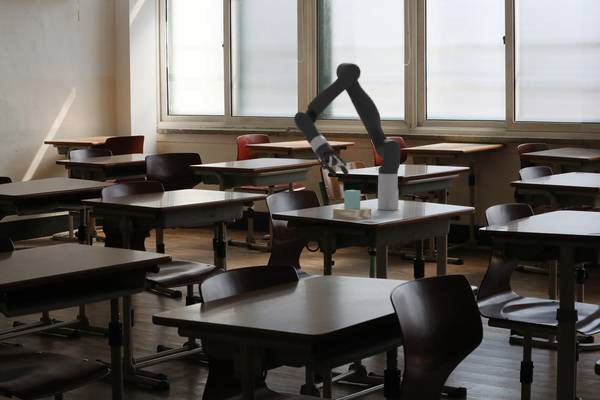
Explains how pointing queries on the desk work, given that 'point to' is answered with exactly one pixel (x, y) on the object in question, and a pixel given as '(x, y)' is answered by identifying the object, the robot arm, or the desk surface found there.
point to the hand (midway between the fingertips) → (341, 174)
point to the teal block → (352, 199)
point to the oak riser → (352, 213)
